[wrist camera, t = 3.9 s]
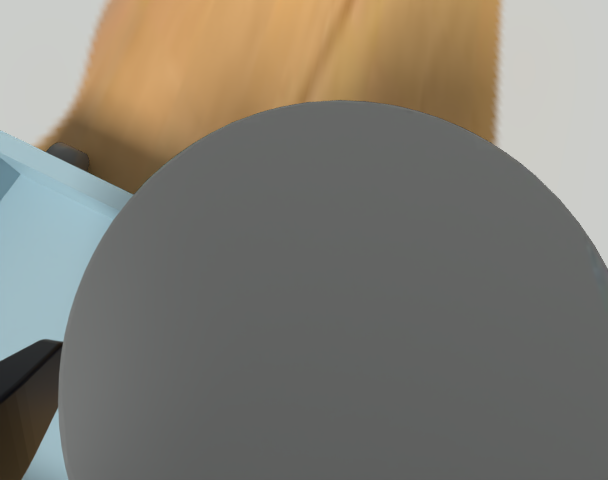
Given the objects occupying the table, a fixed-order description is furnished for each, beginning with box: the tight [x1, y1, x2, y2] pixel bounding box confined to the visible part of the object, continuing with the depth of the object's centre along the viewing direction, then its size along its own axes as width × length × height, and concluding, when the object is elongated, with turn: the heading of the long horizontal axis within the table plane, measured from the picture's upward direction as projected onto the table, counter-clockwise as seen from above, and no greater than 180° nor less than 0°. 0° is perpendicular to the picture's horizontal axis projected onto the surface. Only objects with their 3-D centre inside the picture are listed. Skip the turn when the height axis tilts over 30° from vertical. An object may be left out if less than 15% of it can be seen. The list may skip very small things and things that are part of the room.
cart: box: [0, 130, 133, 480], centre depth 16 cm, size 15×10×4 cm
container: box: [58, 100, 608, 480], centre depth 11 cm, size 5×5×15 cm
